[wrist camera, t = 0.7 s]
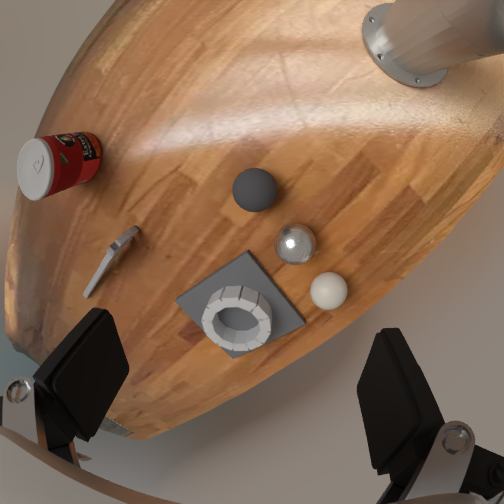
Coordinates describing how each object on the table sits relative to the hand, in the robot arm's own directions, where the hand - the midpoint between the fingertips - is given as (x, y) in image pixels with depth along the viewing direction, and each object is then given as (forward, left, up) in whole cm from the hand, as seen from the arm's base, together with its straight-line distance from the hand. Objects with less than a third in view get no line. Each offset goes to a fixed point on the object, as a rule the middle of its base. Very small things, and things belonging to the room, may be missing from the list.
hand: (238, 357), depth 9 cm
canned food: (+18, -22, -27) cm, 39 cm away
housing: (+14, +11, -27) cm, 32 cm away
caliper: (+28, -7, -27) cm, 40 cm away
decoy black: (+1, -2, -24) cm, 24 cm away
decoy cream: (+1, +14, -24) cm, 28 cm away
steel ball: (+1, +6, -24) cm, 25 cm away
